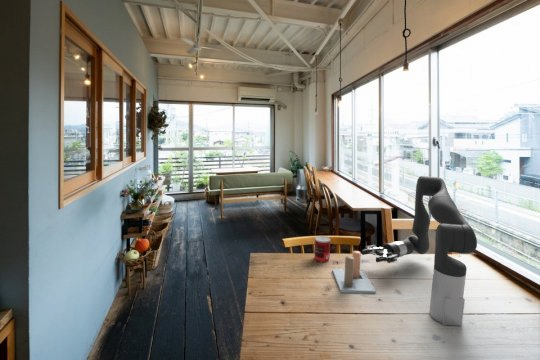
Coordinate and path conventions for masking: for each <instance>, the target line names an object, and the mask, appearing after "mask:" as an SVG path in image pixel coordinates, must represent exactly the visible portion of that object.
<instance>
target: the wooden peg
mask: <svg viewBox="0 0 540 360" xmlns="http://www.w3.org/2000/svg"><path fill="white" fill-rule="evenodd" d="M361 256H362V251H359V250H352V255H351V257H354V269H353V279H360V270H361Z"/></svg>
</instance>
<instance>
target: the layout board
mask: <svg viewBox="0 0 540 360" xmlns="http://www.w3.org/2000/svg"><path fill="white" fill-rule="evenodd" d="M344 259H345V260H344V262H345V263H344V269H343V268H342V269H341V268H337V269H336V268H332V274H333V276H334V279H335V282H336V284H337V286H338V289H339V292H340V293H347V294H348V293H350V294H353V293H355V294H357V293H358V294H376V293H377V291H376V289H375V287H374V286H373V284H372V282H371V281H370V279H369V278H368V275H367V274H366V273H365V271H364V269H360V276H359V279H353V269H354V257H352V255H347V256H345V258H344Z"/></svg>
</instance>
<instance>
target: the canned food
mask: <svg viewBox="0 0 540 360" xmlns="http://www.w3.org/2000/svg"><path fill="white" fill-rule="evenodd" d="M330 256H331V238H330V237H328V236H324V235H319V236H315V239H314V259H315V260H316V261H317V262H319V263H327V262H329V261H330Z"/></svg>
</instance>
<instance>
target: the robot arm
mask: <svg viewBox="0 0 540 360" xmlns="http://www.w3.org/2000/svg"><path fill="white" fill-rule="evenodd" d="M424 196H426V197H430V198H429V200H428V203H427V207H428V208H426V206H425V203H424ZM414 199H415V200H414V218H413V223H412V227H411V228H412V229H411V231H412V233H413V234H414V235H413V234H410V235H408V236H407V237H405V238H404V239H402V240H398V241H390V242H386V243H384V244H382V246H379V247H377V246H376V244H372V245H366V246H365V248H364V249H361V256H364V255H373V256H376V257H375V262H376V263H380V262H384V263H385V262H386V263H388V264H391V263H393V262H397V261H398V258H401V257H403V256H407V255H410V254H413V253H414V252H416V253H418V254H419V255H424V254H427V253H428V252H429V249H430V238H429V237H430V236H429V230H430V225H431V217H432V218H433V219H434V220H435V221H436V222H437V223H439V224H438V225H437V227H436V230H435V237H434V238H435V239H434V240H435V242H434V257H433V258H434V262H433V263H434V264H433V273H432V280H431V281H432V283H431V289H430V290H431V293H430V301H429V302H430V303H429V315H430V316H431V318H432V319H434V320H435V321H437V322H438V323H440V324H442V326H463V320H464V319H463V318H464V308H465V298H464V295H465V285H466V279H467V277H466V276H467V266H466V265H465V263H463V262H462V261H460V260H458V259H456V258H454V257H452V256H450V255H449V254H448V253H455V254H463V255H464V254H466V255H467V254H473V253H474V252H475V251H476V249H477V248H478V247H477V246H478V240H477V239H478V238H477V236H476V232H475V231H474V229H473V228H472V226H471V225H470V224H469V222H468V221H467V220H466V219H465V217H464V216H462V214H461V212H460V211H459V209H458V207H457V205H456V203H455V202H454V200H453V199H452V196H451V195H450V193H449V191H448V189H447V186H446V183H445V181H444V179H443V178H442V177H439V176H431V175H430V176H429V175H421V176H419V177H418V178H417V181H416V185H415V198H414ZM427 209H428V210H427ZM428 211H429V212H428ZM430 215H431V217H430Z"/></svg>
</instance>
